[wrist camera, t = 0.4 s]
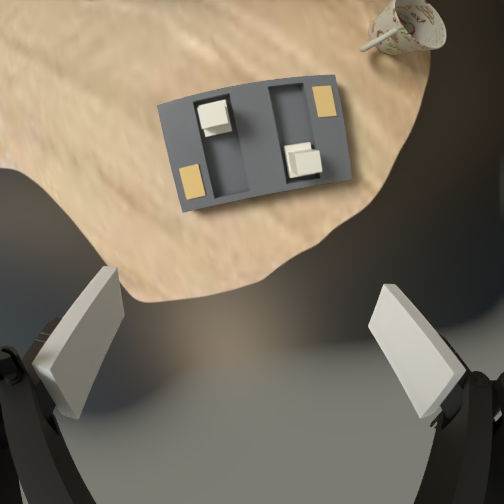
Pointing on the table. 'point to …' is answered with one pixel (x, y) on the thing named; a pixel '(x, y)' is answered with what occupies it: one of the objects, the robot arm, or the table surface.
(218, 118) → the tab
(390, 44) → the mug
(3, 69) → the table surface
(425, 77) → the table surface
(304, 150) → the tab
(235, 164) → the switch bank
